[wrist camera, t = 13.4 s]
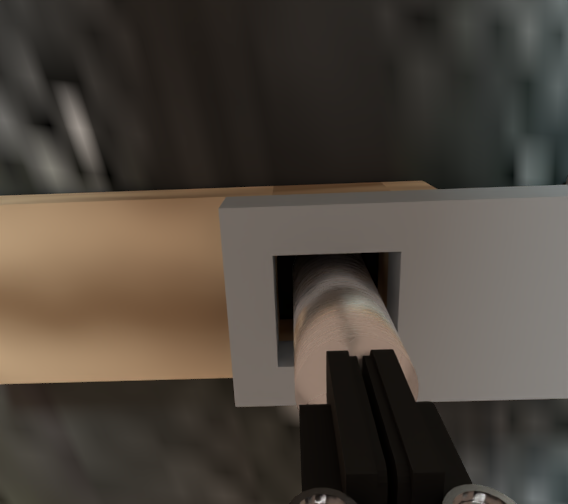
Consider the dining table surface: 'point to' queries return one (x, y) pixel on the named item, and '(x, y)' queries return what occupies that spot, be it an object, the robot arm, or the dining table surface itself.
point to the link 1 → (126, 283)
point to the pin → (338, 321)
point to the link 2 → (415, 285)
